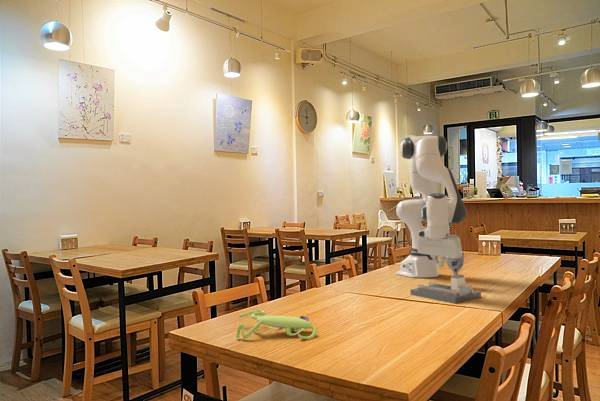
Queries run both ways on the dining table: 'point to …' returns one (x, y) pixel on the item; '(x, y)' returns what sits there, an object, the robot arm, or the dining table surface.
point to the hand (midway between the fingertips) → (439, 266)
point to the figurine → (278, 324)
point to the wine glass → (455, 263)
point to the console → (446, 292)
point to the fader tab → (457, 282)
